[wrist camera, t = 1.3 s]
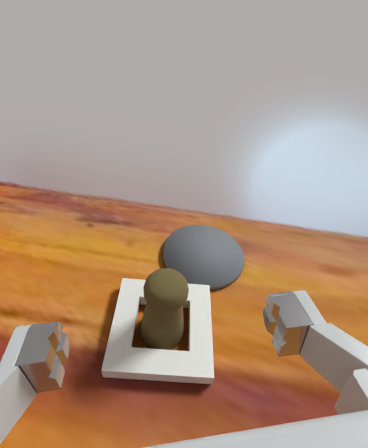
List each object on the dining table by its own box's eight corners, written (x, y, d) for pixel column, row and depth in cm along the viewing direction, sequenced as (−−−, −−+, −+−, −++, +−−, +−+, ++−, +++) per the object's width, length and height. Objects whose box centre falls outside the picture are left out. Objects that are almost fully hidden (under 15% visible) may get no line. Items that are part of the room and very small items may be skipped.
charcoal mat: (159, 286, 44) (159, 282, 43) (166, 225, 54) (166, 221, 54) (248, 293, 45) (249, 289, 44) (238, 232, 55) (239, 228, 54)
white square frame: (102, 377, 34) (101, 370, 32) (123, 286, 43) (122, 278, 42) (211, 384, 34) (214, 378, 33) (207, 293, 44) (209, 285, 43)
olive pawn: (132, 342, 37) (130, 294, 30) (150, 304, 42) (152, 254, 34) (175, 358, 36) (184, 312, 29) (189, 317, 41) (200, 269, 33)
